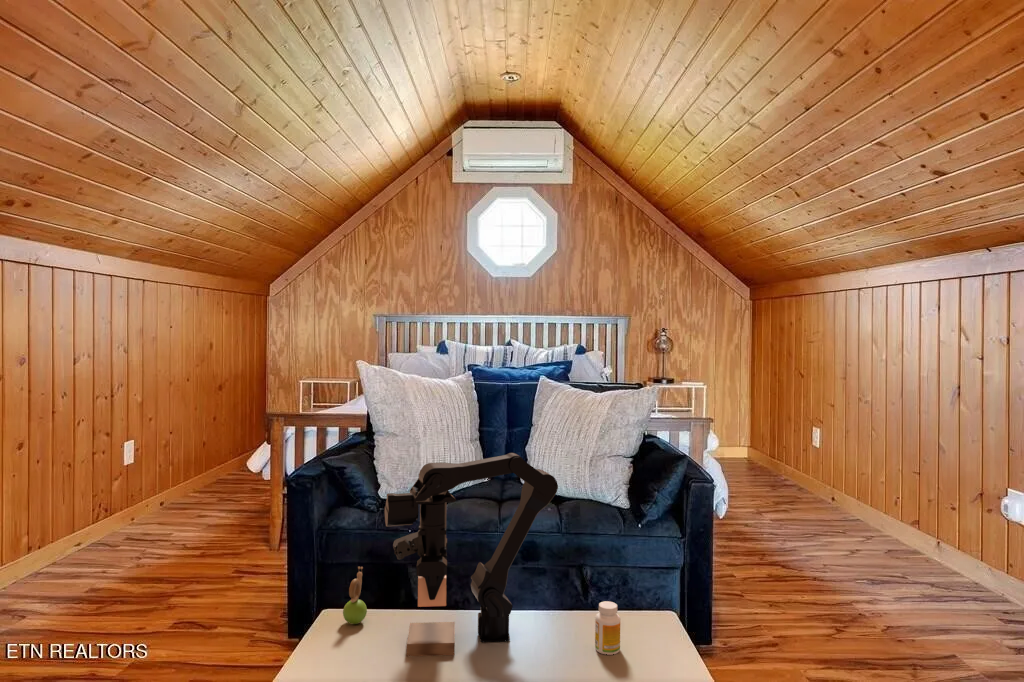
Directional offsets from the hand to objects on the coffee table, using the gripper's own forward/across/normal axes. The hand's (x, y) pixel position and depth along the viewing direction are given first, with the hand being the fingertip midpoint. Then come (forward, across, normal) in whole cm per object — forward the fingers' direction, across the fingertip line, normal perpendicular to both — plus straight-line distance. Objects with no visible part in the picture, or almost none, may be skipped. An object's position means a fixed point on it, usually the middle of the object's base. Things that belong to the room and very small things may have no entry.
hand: (432, 593), depth 141 cm
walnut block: (+12, 0, 0) cm, 12 cm away
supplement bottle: (+11, +5, +38) cm, 40 cm away
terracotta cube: (+2, 0, 0) cm, 2 cm away
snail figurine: (+11, -12, -18) cm, 24 cm away
